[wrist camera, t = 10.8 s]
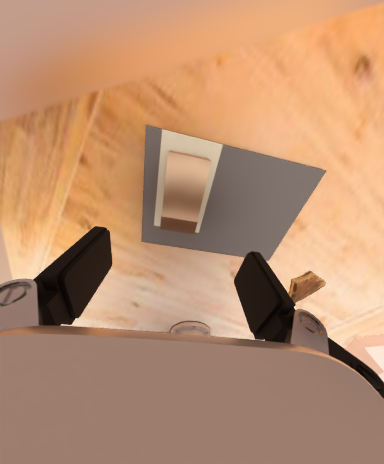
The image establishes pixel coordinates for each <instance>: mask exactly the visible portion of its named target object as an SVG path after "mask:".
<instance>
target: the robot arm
mask: <svg viewBox="0 0 384 464" xmlns="http://www.w3.org/2000/svg"><path fill="white" fill-rule="evenodd" d="M111 266H112V253H111V241H110V232H109V230H107V229H106V228H104V227H98V226H95V227H94V228H92V229H91V230H90V231H89V232H88V233H87V234H85V235H84V236H83V237H82V238H81V239H80V240H78V241H77V242H76V243H75V244H74V245H73V246H71V247H70V248H69V249H68V250H67V251H66V252H64V253H63V254H62V255H61V256H60V257H59V258H58V259H56V260H55V261H54V262H53V263H52V264H51V265H49V266H48V267H47V268H46V269H45V270H44V271H42V272H41V273H40V274H39V275H38V276H37V277H36V278H35V279H34V280H31V279H17V280H12V281H9V282H6V283H3V284H1V285H0V464H384V382H383V381H382V380H381V378H380V377H379V376H378V374H377V373H376V372H375V371H373V370H372V369H371V368H370V367H369V366H367V365H366V364H365V363H364V362H362V361H361V360H359V359H358V358H356V357H355V356H354V355H352V354H351V353H349V352H348V351H347V350H345V349H344V348H342V347H341V346H340V345H338V344H337V343H335V342H334V341H333V340H331V339H330V338H328V337H327V332H326V329H325V327H324V325H323V324H322V323H321V322H320V321H319V320H318V319H317V318H316V317H315V316H314V315H312V314H311V313H309V312H308V311H306V310H302V309H297V310H295V309H294V306H295V305H296V304H295V303H294V301H293V300H292V299H291V297H290V296H289V294H288V293H287V291H286V290H285V288H284V287H283V285H282V284H281V282H280V281H279V280H278V278H277V277H276V275H275V274H274V272H273V271H272V269H271V268H270V266H269V265H268V263H267V262H266V261H265V259H264V258H263V256H262V255H261V253H259V252H254V251H251V252H250V253H247V255H246V257H245V259H244V261H243V263H242V265H241V267H240V269H239V271H238V273H237V275H236V277H235V279H234V284H235V287H236V290H237V293H238V296H239V299H240V302H241V305H242V308H243V311H244V313H245V316H246V319H247V322H248V325H249V328H250V331H251V332H252V333H253V334H254V337H255V339H259V340H249V339H238V338H226V337H214V336H210V329H209V328H208V327H207V326H206V325H204V324H202V323H198V322H184V323H180V324H177V325H175V326H174V327H173V328H172V329H171V331H170V333H162V332H149V331H135V330H122V329H108V328H93V327H74V326H60V325H61V324H67V325H71V324H72V323H73V321H74V320H75V318H79V317H80V316H81V314H82V312H83V311H84V309H85V308H86V306H87V305H88V303H89V301H90V300H91V298H92V297H93V295H94V294H95V292H96V290H97V289H98V287H99V286H100V284H101V282H102V281H103V279H104V278H105V276H106V275H107V273H108V271H109V270H110V268H111ZM264 339H265V341H261V340H264Z"/></svg>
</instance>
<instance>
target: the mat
mask: <svg viewBox="0 0 384 464" xmlns="http://www.w3.org/2000/svg"><path fill="white" fill-rule="evenodd" d="M170 150H174V151H178V152H183V153H187V154H192V155H196V156H201V157H205V158H208V159H210V160H211V161H212V163H211V167H210V171H209V175H208V179H207V183H206V188H205V192H204V196H203V200H202V204H201V208H200V212H199V216H198V220H197V226H196V230H195V234H188V233H182V232H175V231H169V230H162V229H160V223H161V216H162V207H163V197H164V187H165V177H166V167H167V157H168V151H170ZM325 172H326V170H322V169H318V168H314V167H310V166H306V165H302V164H298V163H294V162H290V161H286V160H282V159H278V158H274V157H270V156H266V155H263V154H259V153H255V152H251V151H247V150H243V149H239V148H235V147H231V146H227V145H223V144H219V143H215V142H211V141H207V140H203V139H199V138H196V137H192V136H188V135H184V134H180V133H176V132H172V131H168V130H164V129H160V128H156V127H152V126H148V125H146V140H145V165H144V191H143V217H142V242H146V243H153V244H160V245H166V246H173V247H180V248H186V249H193V250H200V251H206V252H213V253H220V254H226V255H233V256H239V257H246V255H247V253H250V252H251V251H254V252H259V253H261V255H262V256H263V258H264V259H265V260H266V261H269V259H270V258H271V256H272V255H273V253H274V252H275V250H276V248H277V247H278V245H279V244H280V242H281V241H282V239H283V238H284V236H285V234H286V233H287V231H288V230H289V228H290V227H291V225H292V224H293V222H294V220H295V219H296V217H297V216H298V214H299V213H300V211H301V210H302V208H303V206H304V205H305V203H306V202H307V200H308V199H309V197H310V196H311V194H312V192H313V191H314V189H315V188H316V186H317V185H318V183H319V182H320V180H321V178H322V177H323V175H324V174H325Z"/></svg>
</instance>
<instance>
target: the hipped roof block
mask: <svg viewBox="0 0 384 464" xmlns="http://www.w3.org/2000/svg"><path fill="white" fill-rule="evenodd" d="M345 350H347V351H348V352H349V353H351V354H352V355H354V356H355V357H356V358H358V359H359V360H361V361H362V362H364V363H365V364H366V365H367V366H369V367H370V368H371V369H372V370H373V371H375V372H376V373H377V374H378V376H379V377H380V378H381V380H382V381H383V382H384V334H381V335H372V336H363V337H355V338H354V339H353V340H352V341H351V342H350V344H349V345H348V346H347V347H346V348H345Z"/></svg>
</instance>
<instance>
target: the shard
mask: <svg viewBox="0 0 384 464" xmlns="http://www.w3.org/2000/svg"><path fill="white" fill-rule="evenodd" d="M325 284H326V282H325V281H323V280H322V279H320V278H319V277H317V276H316V275H315V274H313V273H312V272H310V273H309V274H307V275H304V276H301V277H298V278H294V279H292V287H291V290H290V292H289V296H290V297H291V299H292V300H293V301H294V303H296V302H297V301H299V300H301V299H304V298H305V297H307V296H309V295H311V294H312V293H314V292H316V291H317V290H319V289H320V288H322V287H323V286H325Z"/></svg>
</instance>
